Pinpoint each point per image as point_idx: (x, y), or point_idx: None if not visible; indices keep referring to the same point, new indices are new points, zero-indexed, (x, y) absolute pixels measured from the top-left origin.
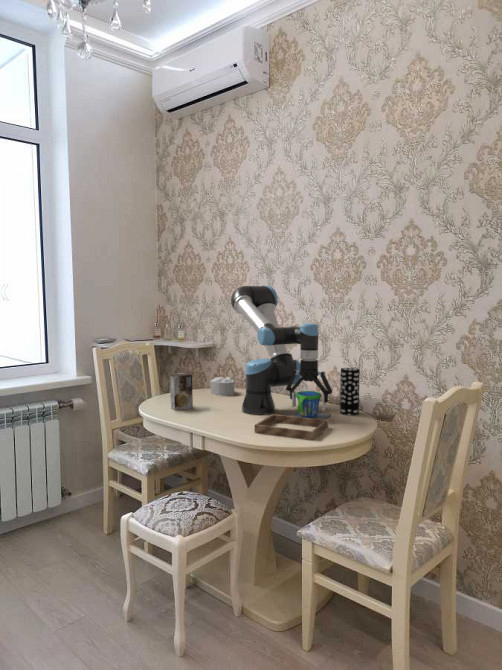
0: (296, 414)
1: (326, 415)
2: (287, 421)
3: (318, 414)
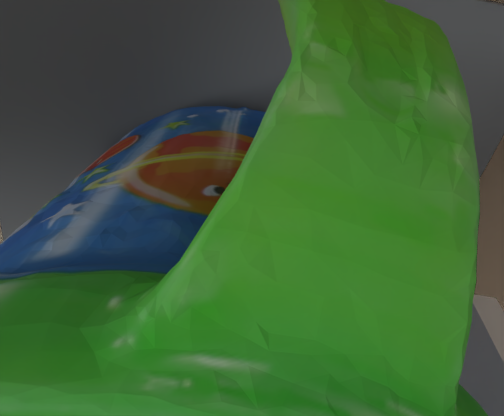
0: (37, 144)
1: (484, 106)
2: None
3: None
